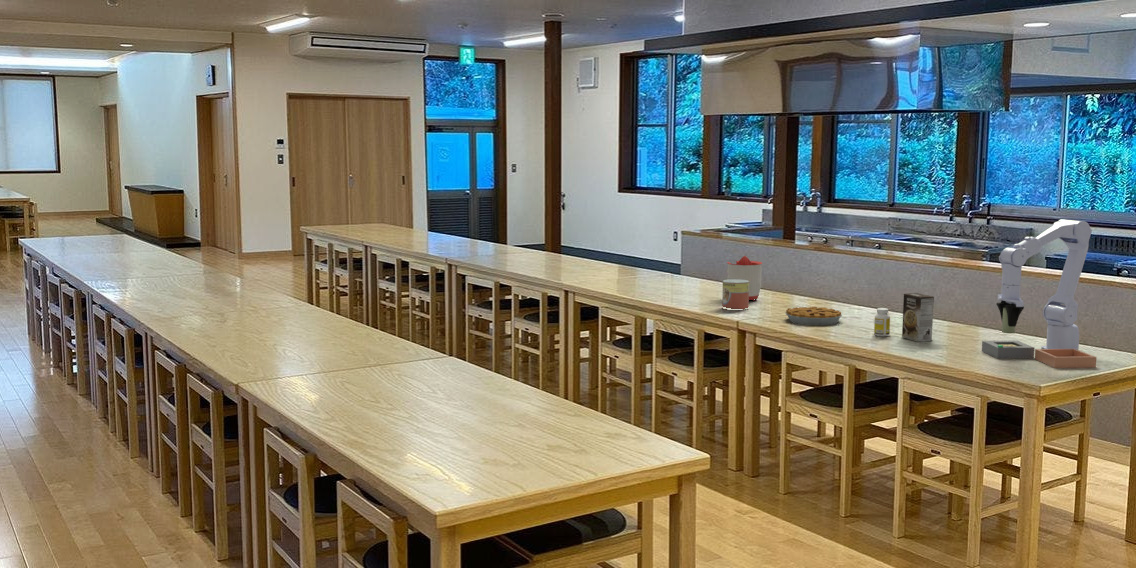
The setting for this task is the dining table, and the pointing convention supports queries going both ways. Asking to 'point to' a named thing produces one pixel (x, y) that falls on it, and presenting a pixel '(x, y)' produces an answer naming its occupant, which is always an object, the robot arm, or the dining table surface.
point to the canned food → (735, 294)
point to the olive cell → (1006, 323)
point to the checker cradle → (1008, 349)
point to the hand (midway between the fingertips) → (1008, 325)
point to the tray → (1065, 358)
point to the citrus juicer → (747, 274)
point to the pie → (813, 315)
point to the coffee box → (917, 317)
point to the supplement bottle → (882, 322)
